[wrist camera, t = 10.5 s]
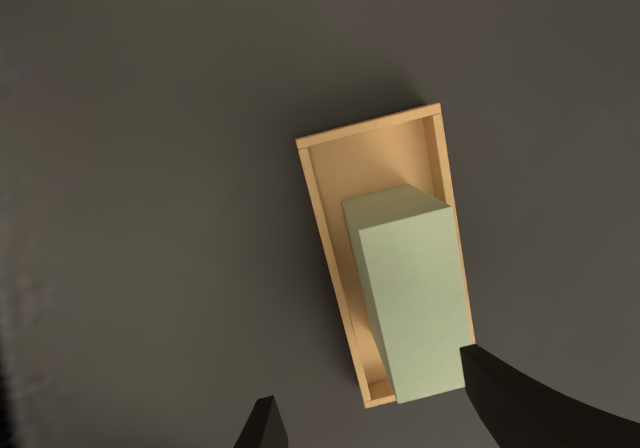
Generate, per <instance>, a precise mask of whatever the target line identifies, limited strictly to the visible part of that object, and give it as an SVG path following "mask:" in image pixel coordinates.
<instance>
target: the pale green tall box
mask: <svg viewBox="0 0 640 448" xmlns="http://www.w3.org/2000/svg"><path fill="white" fill-rule="evenodd" d="M341 206H342V210H343V214H344V219H345V223H346V227H347V231H348V235H349V240H350V244H351V248H352V252H353V256H354V261H355V265H356V269H357V273H358V277H359V282H360V286H361V290H362V294H363V299H364V303H365V307H366V311H367V315H368V320H369V324H370V328H371V332H372V336H373V338H374V341H375V344H376V346H377V349H378V352H379V355H380V357H381V360H382V363H383V365H384V368H385V371H386V373H387V376H388V379H389V381H390V384H391V387H392V390H393V392H394V395H395V398H396V400H397V403H398V404H400V403H404V402H408V401H412V400H416V399H419V398H423V397H427V396H431V395H435V394H439V393H443V392H447V391H450V390H454V389H458V388H462V387H465V382H464V375H463V369H462V363H461V356H460V350H459V348H460V347H464V346H468V345H471V344H472V337H471V330H470V324H469V317H468V310H467V304H466V297H465V290H464V284H463V277H462V270H461V264H460V257H459V250H458V243H457V237H456V230H455V223H454V217H453V210H452V206H450V205H448V204H447V203H445V202H443V201H441V200H439V199H437V198H435V197H433V196H431V195H429V194H427V193H425V192H423V191H421V190H419V189H417V188H416V187H414V186H412V185H410V184H404V185H400V186H396V187H392V188H389V189H385V190H381V191H377V192H373V193H369V194H365V195H361V196H358V197H354V198H350V199H346V200H342V201H341Z"/></svg>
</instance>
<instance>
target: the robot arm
mask: <svg viewBox="0 0 640 448" xmlns="http://www.w3.org/2000/svg"><path fill="white" fill-rule="evenodd" d="M459 350H460V356H461V363H462V369H463V375H464V382H465V388H466V393H467V395H468V396H469V398H470V400H471V402H472V404H473V406H474V408H475V410H476V412H477V413H478V415H479V417H480V419H481V420H482V422H483V423H484V425H485V426H486V428H487V429H488V431H489V432H490V433H491V435H492V436H493V438H494V439H495V441H496V442H497V444H498V445H499V447H500V448H640V423H637V422H634V421H631V420H628V419H625V418H622V417H619V416H616V415H613V414H611V413H608V412H605V411H602V410H600V409H597V408H594V407H592V406H589V405H587V404H584V403H582V402H580V401H578V400H575V399H573V398H571V397H569V396H566V395H564V394H562V393H560V392H558V391H556V390H554V389H552V388H550V387H548V386H546V385H544V384H542V383H540V382H538V381H536V380H534V379H532V378H531V377H529V376H527V375H525V374H524V373H522V372H520V371H518V370H517V369H515V368H513V367H512V366H510V365H508V364H507V363H505V362H503V361H502V360H500V359H499V358H497V357H495V356H494V355H492V354H491V353H489V352H487V351H486V350H484V349H483V348H481V347H479V346H478V345H476V344H471V345H468V346H464V347H460V348H459ZM234 448H288V437H287V434H286V431H285V428H284V425H283V422H282V419H281V416H280V413H279V410H278V407H277V404H276V401H275V398H274V395H272V396H269V397H265V398H261V399H258V400H257V401H256V403H255V405H254V407H253V410H252V412H251V414H250V416H249V418H248V420H247V422H246V424H245V426H244V428H243V430H242V432H241V434H240V436H239V438H238V440H237V442H236V444H235V446H234Z"/></svg>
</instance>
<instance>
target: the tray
mask: <svg viewBox="0 0 640 448" xmlns="http://www.w3.org/2000/svg"><path fill="white" fill-rule="evenodd" d="M295 140H296V144H297V148H298V152H299V156H300V160H301V164H302V167H303V171H304V175H305V179H306V183H307V187H308V190H309V194H310V198H311V202H312V206H313V210H314V213H315V217H316V221H317V225H318V229H319V233H320V236H321V240H322V244H323V248H324V252H325V256H326V259H327V263H328V267H329V271H330V275H331V279H332V282H333V286H334V290H335V294H336V298H337V302H338V305H339V309H340V313H341V317H342V321H343V325H344V328H345V332H346V336H347V340H348V344H349V347H350V351H351V355H352V359H353V363H354V367H355V370H356V374H357V378H358V382H359V386H360V390H361V393H362V397H363V401H364V405H365V408H369V407H373V406H377V405H381V404H385V403H388V402H392V401H396V398H395V395H394V392H393V390H392V387H391V384H390V381H389V379H388V376H387V373H386V371H385V368H384V365H383V363H382V360H381V357H380V355H379V352H378V349H377V346H376V344H375V341H374V338H373V336H372V332H371V328H370V324H369V320H368V315H367V311H366V307H365V303H364V299H363V294H362V290H361V286H360V282H359V277H358V273H357V269H356V265H355V261H354V256H353V252H352V248H351V244H350V240H349V235H348V231H347V227H346V223H345V219H344V214H343V210H342V206H341V201H342V200H346V199H350V198H354V197H358V196H361V195H365V194H369V193H373V192H377V191H381V190H385V189H389V188H392V187H396V186H400V185H404V184H410V185H412V186H414V187H416V188H417V189H419V190H421V191H423V192H425V193H427V194H429V195H431V196H433V197H435V198H437V199H439V200H441V201H443V202H445V203H447V204H448V205H450V206H452V210H453V217H454V223H455V230H456V237H457V243H458V250H459V257H460V264H461V270H462V277H463V284H464V290H465V297H466V304H467V310H468V317H469V324H470V330H471V337H472V344H475V338H474V331H473V324H472V318H471V311H470V304H469V297H468V290H467V284H466V277H465V270H464V263H463V256H462V250H461V243H460V236H459V229H458V222H457V216H456V209H455V202H454V195H453V188H452V182H451V175H450V168H449V161H448V154H447V148H446V141H445V134H444V127H443V121H442V114H441V107H440V103H435V104H428V105H423V106H420V107H416V108H412V109H408V110H404V111H400V112H396V113H393V114H389V115H385V116H381V117H377V118H373V119H369V120H366V121H362V122H358V123H354V124H350V125H346V126H342V127H338V128H335V129H331V130H327V131H323V132H319V133H315V134H311V135H308V136H304V137H300V138H296V139H295Z"/></svg>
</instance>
